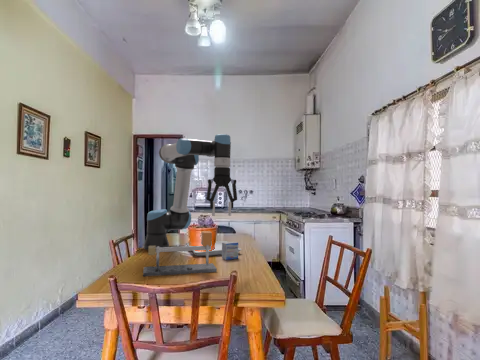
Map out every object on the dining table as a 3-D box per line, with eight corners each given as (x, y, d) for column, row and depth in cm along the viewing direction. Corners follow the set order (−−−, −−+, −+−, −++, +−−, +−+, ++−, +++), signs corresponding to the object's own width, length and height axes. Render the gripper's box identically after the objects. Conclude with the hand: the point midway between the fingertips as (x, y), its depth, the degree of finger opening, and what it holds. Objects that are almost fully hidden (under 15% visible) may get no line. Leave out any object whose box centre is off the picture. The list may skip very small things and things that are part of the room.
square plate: (185, 248, 196) (185, 242, 196) (227, 246, 205) (227, 240, 206) (194, 258, 170) (194, 251, 171) (242, 255, 180) (242, 248, 180)
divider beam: (148, 266, 143) (148, 245, 143) (209, 263, 150) (210, 242, 150) (148, 269, 137) (148, 247, 138) (211, 266, 145) (212, 245, 145)
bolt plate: (143, 270, 145) (143, 266, 145) (212, 266, 154) (212, 262, 154) (143, 276, 136) (143, 272, 136) (216, 272, 144) (216, 268, 144)
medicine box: (225, 260, 166) (226, 243, 166) (221, 258, 170) (221, 242, 170) (238, 258, 171) (238, 242, 171) (234, 256, 174) (234, 241, 174)
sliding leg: (201, 263, 150) (201, 231, 150) (209, 262, 151) (209, 231, 151) (202, 266, 144) (203, 233, 144) (211, 265, 145) (212, 232, 145)
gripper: (202, 166, 144) (201, 216, 144) (244, 167, 149) (244, 216, 149) (200, 167, 151) (199, 215, 151) (240, 168, 156) (240, 214, 156)
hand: (221, 215), depth 150 cm, fingers open, 7 cm apart
